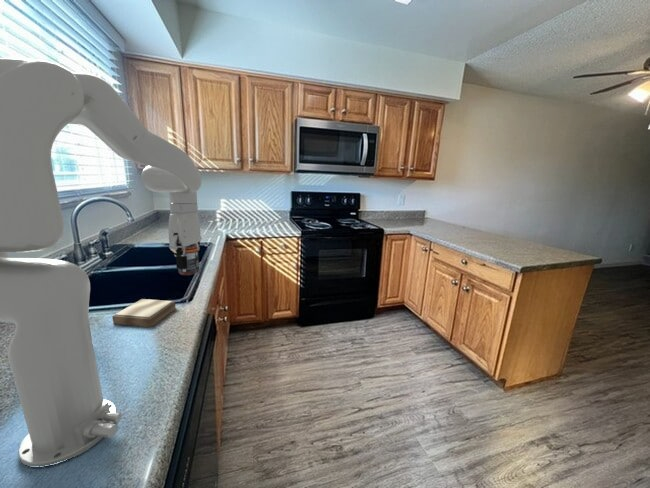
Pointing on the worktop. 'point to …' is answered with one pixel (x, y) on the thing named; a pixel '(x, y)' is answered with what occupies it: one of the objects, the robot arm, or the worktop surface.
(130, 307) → the light wooden flat block
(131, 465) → the worktop surface
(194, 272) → the supplement bottle
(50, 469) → the worktop surface
